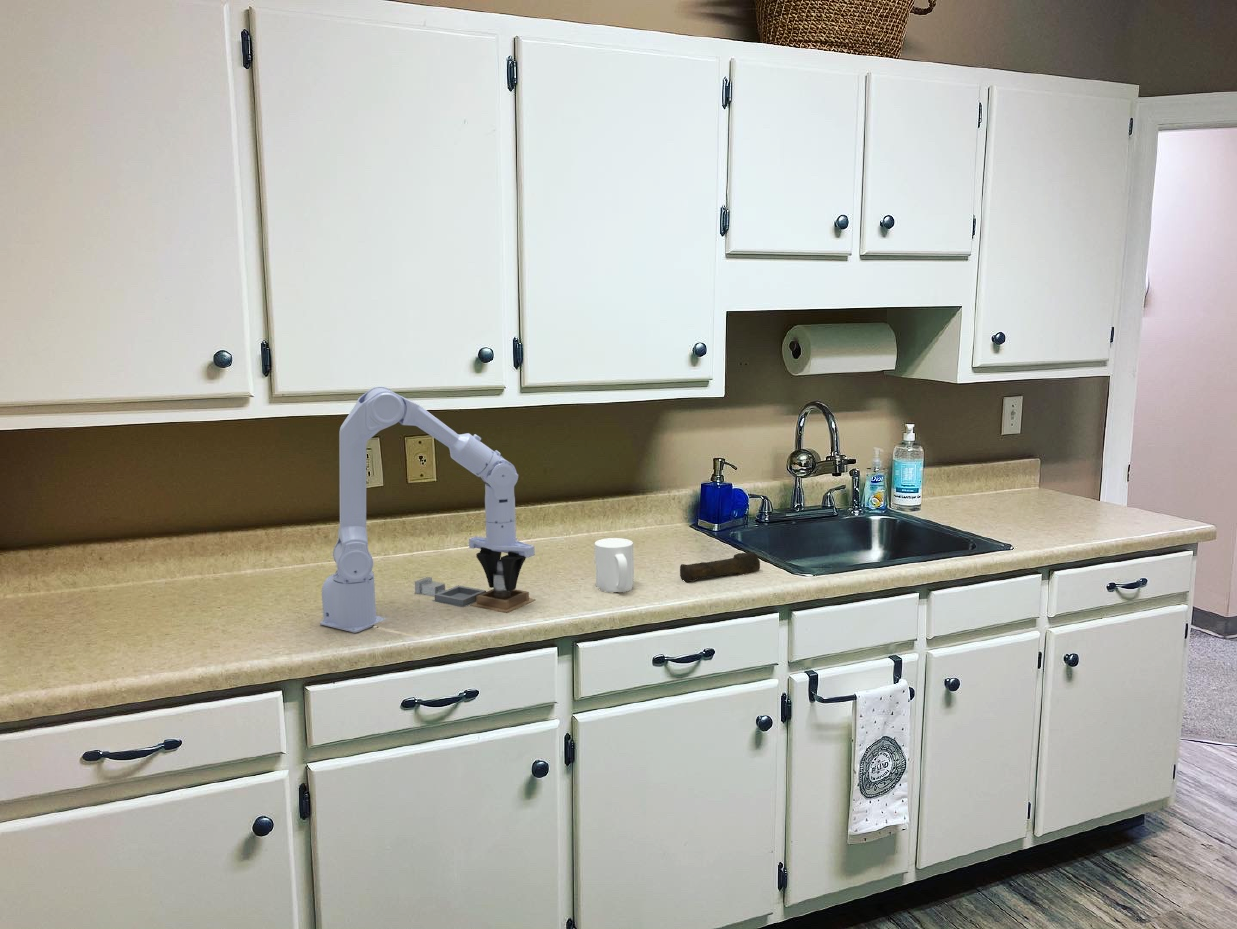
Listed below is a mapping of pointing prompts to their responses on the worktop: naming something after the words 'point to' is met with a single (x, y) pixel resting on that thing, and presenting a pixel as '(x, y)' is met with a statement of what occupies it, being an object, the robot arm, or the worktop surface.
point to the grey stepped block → (428, 587)
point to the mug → (614, 564)
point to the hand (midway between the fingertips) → (502, 588)
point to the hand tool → (721, 567)
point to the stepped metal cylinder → (500, 582)
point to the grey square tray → (458, 596)
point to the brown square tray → (503, 601)
